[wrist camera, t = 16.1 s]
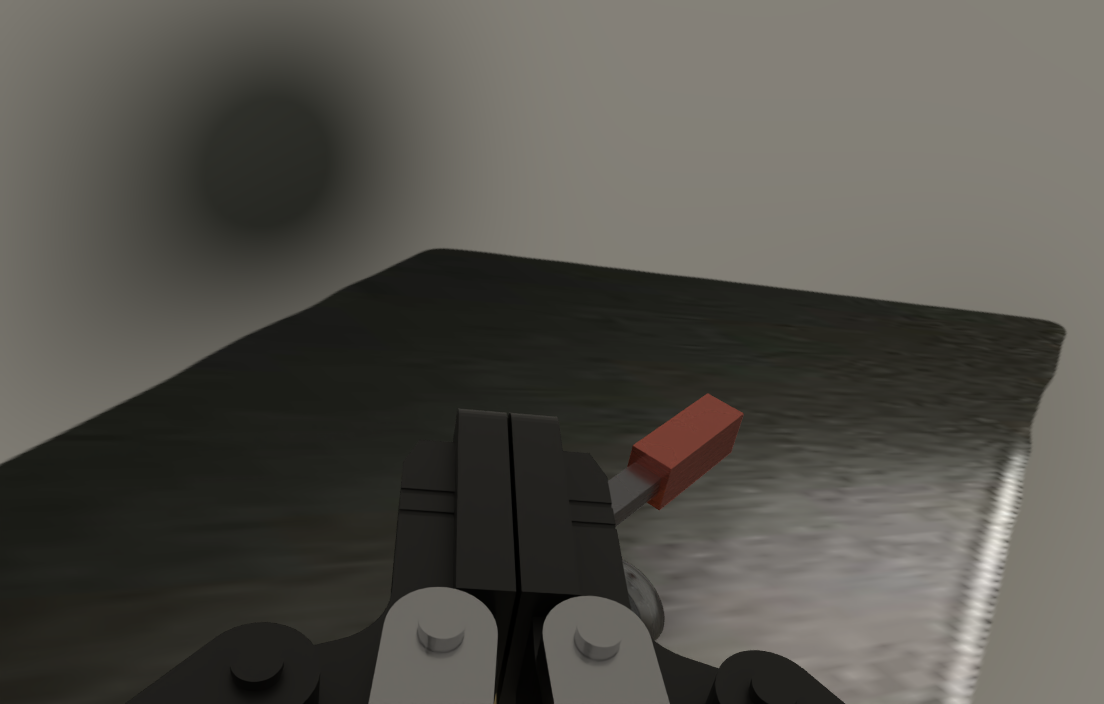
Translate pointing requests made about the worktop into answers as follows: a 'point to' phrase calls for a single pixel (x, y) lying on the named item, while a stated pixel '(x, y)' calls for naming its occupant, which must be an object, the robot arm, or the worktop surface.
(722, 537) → the worktop surface
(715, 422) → the lever
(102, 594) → the worktop surface
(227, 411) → the worktop surface
